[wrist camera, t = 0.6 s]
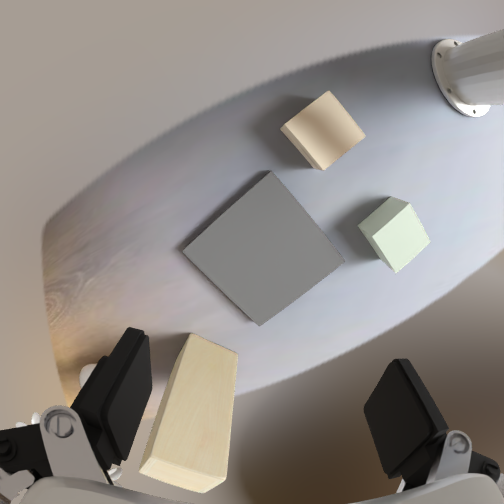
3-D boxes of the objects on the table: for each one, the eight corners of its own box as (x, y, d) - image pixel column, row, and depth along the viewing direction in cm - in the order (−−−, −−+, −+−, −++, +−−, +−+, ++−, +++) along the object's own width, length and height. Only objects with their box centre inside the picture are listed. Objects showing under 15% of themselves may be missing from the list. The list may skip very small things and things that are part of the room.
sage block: (390, 196, 32) (409, 203, 27) (411, 230, 33) (430, 241, 28) (356, 225, 33) (372, 236, 28) (379, 258, 35) (396, 273, 30)
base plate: (271, 170, 31) (271, 171, 30) (342, 256, 34) (345, 261, 33) (185, 247, 34) (182, 251, 33) (259, 320, 37) (259, 326, 36)
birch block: (318, 99, 28) (328, 90, 23) (350, 138, 30) (365, 136, 25) (279, 129, 29) (284, 124, 25) (313, 168, 31) (323, 170, 26)
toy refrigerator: (173, 362, 40) (136, 474, 21) (189, 331, 38) (150, 455, 18) (218, 381, 42) (202, 495, 22) (238, 353, 40) (229, 480, 20)
